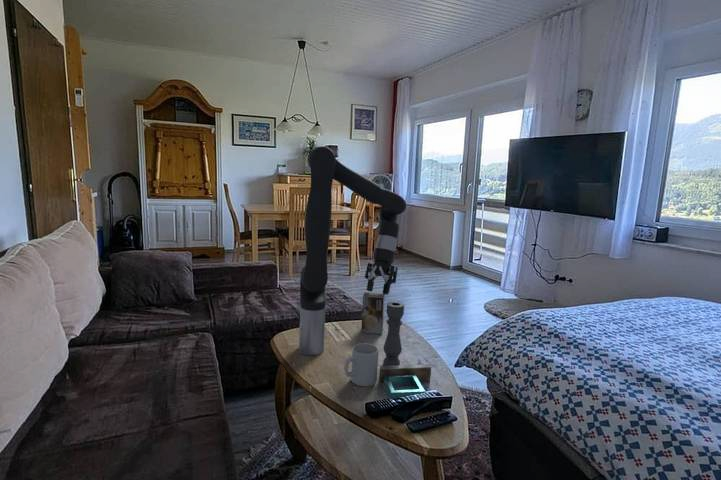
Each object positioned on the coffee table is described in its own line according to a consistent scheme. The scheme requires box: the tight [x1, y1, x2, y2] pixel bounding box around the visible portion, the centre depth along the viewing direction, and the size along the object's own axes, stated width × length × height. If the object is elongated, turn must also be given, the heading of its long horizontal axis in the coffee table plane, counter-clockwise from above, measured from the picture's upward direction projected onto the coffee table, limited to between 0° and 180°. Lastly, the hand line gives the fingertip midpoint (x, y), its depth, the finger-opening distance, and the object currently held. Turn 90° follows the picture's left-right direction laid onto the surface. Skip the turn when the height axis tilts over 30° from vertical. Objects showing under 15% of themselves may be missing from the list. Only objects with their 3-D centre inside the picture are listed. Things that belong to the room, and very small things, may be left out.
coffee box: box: [360, 292, 386, 335], centre depth 173 cm, size 9×6×16 cm
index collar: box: [382, 374, 426, 400], centre depth 126 cm, size 10×10×4 cm
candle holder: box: [381, 300, 405, 366], centre depth 136 cm, size 6×6×25 cm
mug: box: [343, 342, 379, 387], centre depth 131 cm, size 12×8×11 cm
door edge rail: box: [378, 363, 433, 385], centre depth 133 cm, size 17×2×5 cm, turn 100°
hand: (377, 292), depth 146 cm, fingers open, 8 cm apart
